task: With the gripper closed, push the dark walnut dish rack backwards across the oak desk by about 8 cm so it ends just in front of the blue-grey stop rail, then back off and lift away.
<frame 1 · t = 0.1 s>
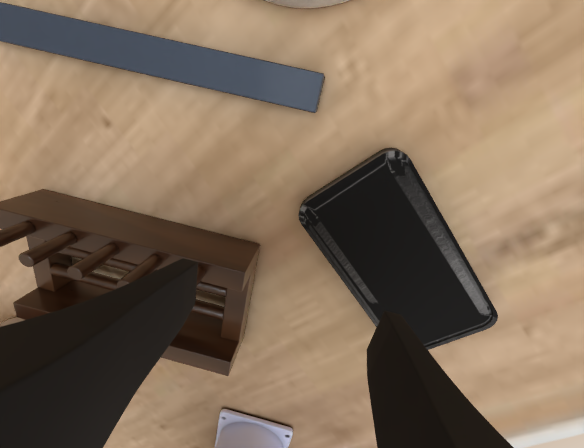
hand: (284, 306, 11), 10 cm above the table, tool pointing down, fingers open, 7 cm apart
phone: (395, 259, 20), on the table
stop rail: (147, 55, 17), on the table
rack: (150, 268, 24), on the table
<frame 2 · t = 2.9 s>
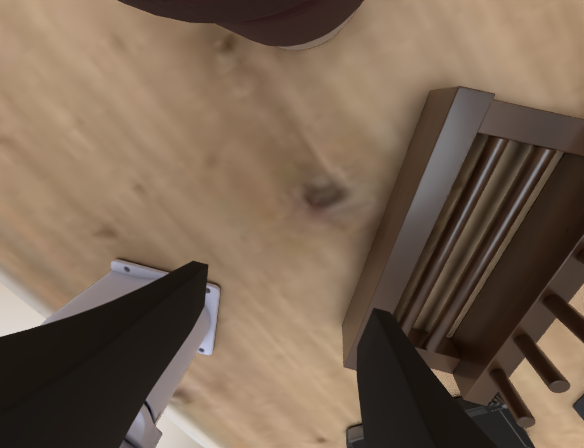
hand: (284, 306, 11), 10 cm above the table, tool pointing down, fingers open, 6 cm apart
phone: (430, 433, 27), on the table
rack: (449, 248, 19), on the table
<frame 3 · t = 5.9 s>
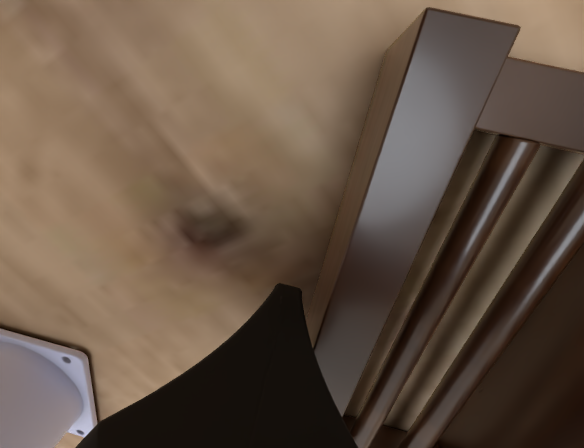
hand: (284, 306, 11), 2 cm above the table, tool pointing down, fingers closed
rack: (430, 318, 12), on the table, touching gripper
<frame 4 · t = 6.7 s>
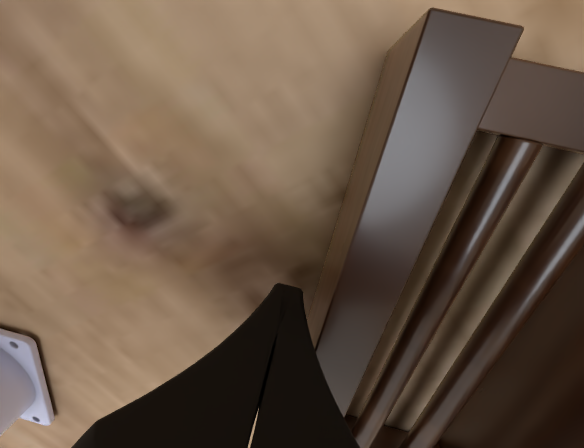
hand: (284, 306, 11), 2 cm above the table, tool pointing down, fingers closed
rack: (431, 318, 12), on the table, touching gripper
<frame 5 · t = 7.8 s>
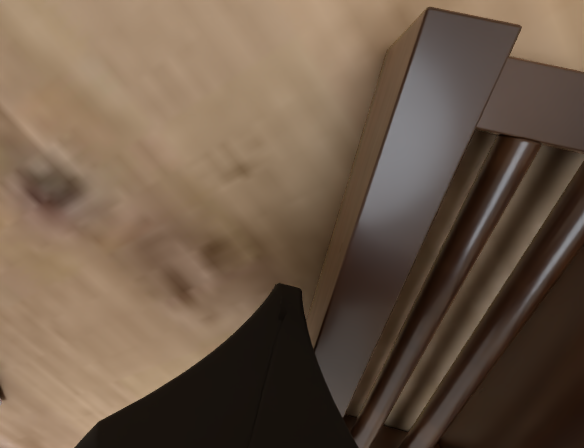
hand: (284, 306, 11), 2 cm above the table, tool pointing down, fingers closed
rack: (431, 318, 12), on the table, touching gripper
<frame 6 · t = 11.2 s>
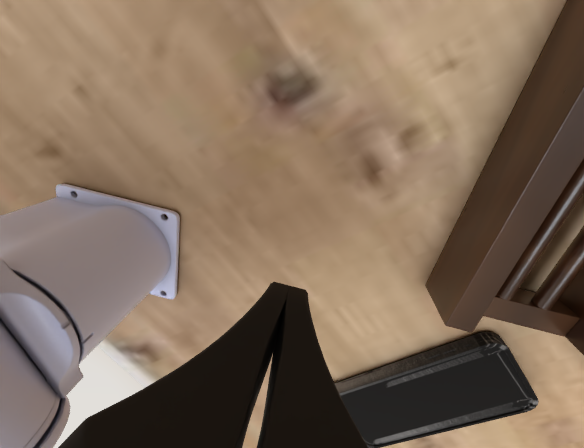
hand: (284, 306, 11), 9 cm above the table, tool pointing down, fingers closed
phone: (420, 388, 24), on the table
rack: (573, 182, 16), on the table
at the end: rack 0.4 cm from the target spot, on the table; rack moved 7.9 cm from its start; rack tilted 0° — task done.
